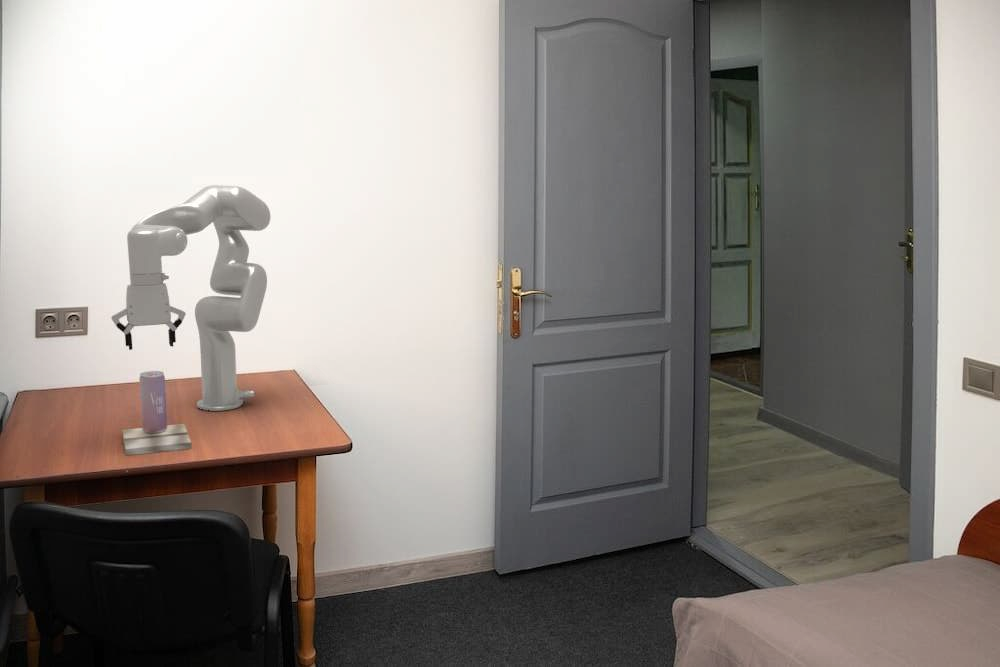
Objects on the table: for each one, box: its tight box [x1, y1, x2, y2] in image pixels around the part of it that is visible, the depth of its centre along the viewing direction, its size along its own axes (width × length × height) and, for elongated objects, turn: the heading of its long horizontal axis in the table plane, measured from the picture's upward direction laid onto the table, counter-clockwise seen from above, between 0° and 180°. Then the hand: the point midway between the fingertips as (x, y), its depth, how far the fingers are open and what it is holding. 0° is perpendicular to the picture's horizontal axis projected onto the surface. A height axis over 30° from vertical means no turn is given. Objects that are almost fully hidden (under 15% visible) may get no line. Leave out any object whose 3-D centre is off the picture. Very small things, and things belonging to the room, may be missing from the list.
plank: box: [121, 423, 188, 443], centre depth 239 cm, size 15×8×2 cm, turn 114°
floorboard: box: [123, 433, 192, 456], centre depth 231 cm, size 15×8×2 cm, turn 114°
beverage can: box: [138, 370, 168, 434], centre depth 237 cm, size 6×6×15 cm
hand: (151, 347), depth 235 cm, fingers open, 9 cm apart
